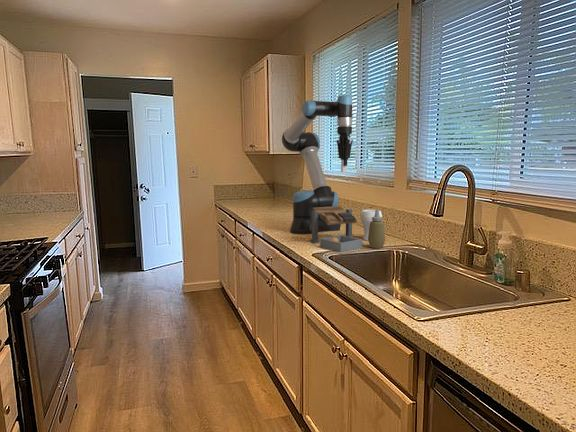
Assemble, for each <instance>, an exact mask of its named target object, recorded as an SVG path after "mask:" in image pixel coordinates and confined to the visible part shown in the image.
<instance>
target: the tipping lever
mask: <svg viewBox="0 0 576 432" xmlns="http://www.w3.org/2000/svg"><path fill="white" fill-rule="evenodd" d="M312 211H317V212H318V233H326V232H327V233H328V232H337V231H338V232H339V231H341V225H344V224H345V225H346V223H352V224H356V223H357V222H358V221H357V218H356V217H355V216H354V215H353V214H352V215H351V214H350V213H349V212H346V209H344V208H343V207H342V206H340V205H337V206H333V207H316V208H312ZM310 231H311V232H312V215H311V222H310Z"/></svg>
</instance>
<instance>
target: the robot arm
mask: <svg viewBox="0 0 576 432" xmlns="http://www.w3.org/2000/svg"><path fill="white" fill-rule="evenodd" d="M317 117H330V118H335V117H337V118H336V119H337V128H336V129H337V130H336V133H337V134H338V135H339V137H338V140H336V146H337V153H338V155H337V156H338V159H340V162H341V164H340V173H348V160H349V159H350V158H351V152H352V146H353V142H354V140H353V139H351V136H350V135H352V134H353V127H352V126H353V97H352V95H349V94H341V95H338V97H337V100H336V101H329V100H328V101H325V100H324V101H322V100H305V101H303V102H302V105H301V113H300V114H299V115H298V116H297V118H296V119H295V120H294V121H293V123H292V124H291V126H290V127H289V128H286V129H285V130H284V132H283V133H282V135H281V142H282V145H283V147H284V148H285V149H286V150H288V151H289V152H296V153H297V152H299V154H300V157H302V158H303V159H304V163H305V167H306V171H307V173H308V176H309V180H310V184H311V186H312V189H313V190H312V189H307V190H300V191H296V192H294V193H293V197H292V212H293V213H292V215H293V216H292V218H293V219H292V221H291V224H290V229H289V230H290V231H289V232H290V233H291V234H295V235H296V234H298V235H312V232H311V231H310V222H311V215H312V208H316V207H333V206H339V205H338V204H339V196H338V193H337V192H336V191H335V190H334V191H332V187H331V186H330V185H328V184H327V179H326V177H325V173H324V171H323V168H322V167H323V166H322V164H321V162H320V158H319V156H318V155H319V154H318V152H319V150H320V148H321V144H320V143H321V140H320V138H319V136H318V134H317V133H316V132H310V131H308V132H304V131H306V129H307V128H308V127H309V126H310V125H311V123H312V122H313V121H314V120H315V119H316V118H317Z"/></svg>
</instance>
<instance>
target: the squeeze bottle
mask: <svg viewBox="0 0 576 432" xmlns="http://www.w3.org/2000/svg"><path fill="white" fill-rule="evenodd" d="M375 210H376V211H375V216H374V217H372V222H370V226H369V234H368V245H369V248H372V249H382V248H384V245H385V242H386V234H385V233H386V232H385V223H384V221H383V216H382V217H380V215H379V209H378V208H377V209H375Z"/></svg>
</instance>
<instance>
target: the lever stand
mask: <svg viewBox="0 0 576 432" xmlns="http://www.w3.org/2000/svg"><path fill="white" fill-rule="evenodd" d="M345 211H346V212H349V213H350V214H351V215H353V209H352V208H351V209H350V208H346V209H345ZM345 236H348V237H353V238H356V237H354V236H353V223H346V224H345ZM309 243H312V244H320V240H319V232H318V212H317V211H312V234H311V239H309Z"/></svg>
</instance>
